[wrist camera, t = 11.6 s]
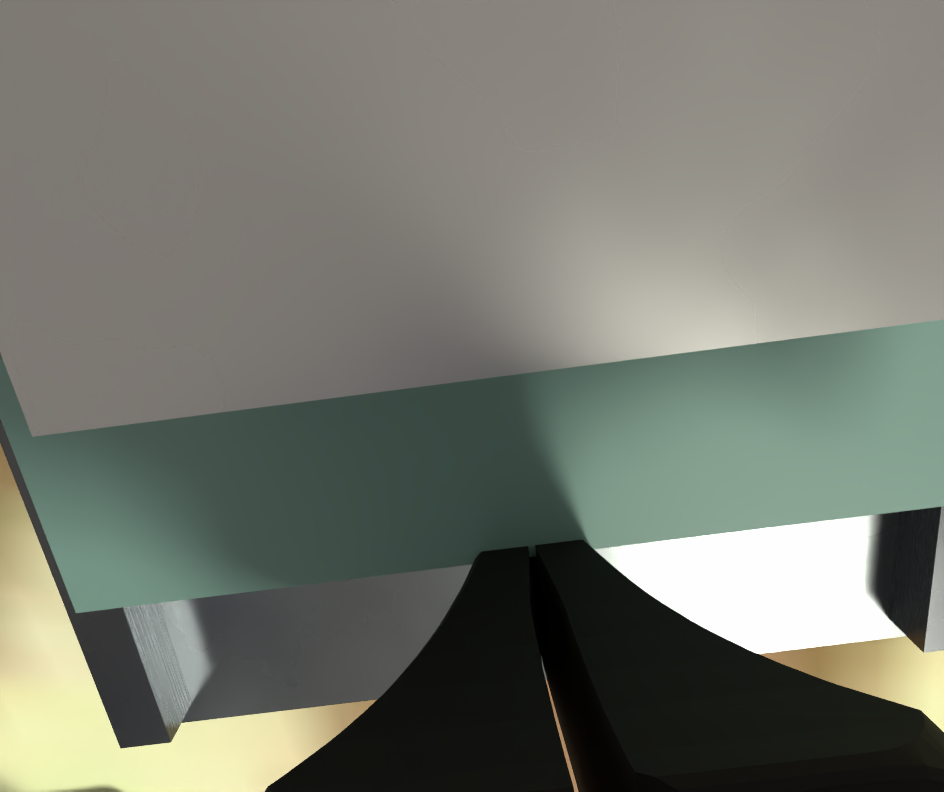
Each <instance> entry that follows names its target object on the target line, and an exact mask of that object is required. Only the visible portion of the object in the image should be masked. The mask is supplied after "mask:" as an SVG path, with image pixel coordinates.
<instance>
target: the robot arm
mask: <svg viewBox="0 0 944 792" xmlns="http://www.w3.org/2000/svg"><path fill="white" fill-rule="evenodd" d="M535 548H536V557H529V548H528V546H524V547H515V548H507V549H498V550H490V551H482V552H481V553H480V554H479V555H478V556H477V557H476V558H475V560H474V562H473V565H472V567H471V569H470V571H469V573H468V575H467V577H466V580H465V582H464V584H463V586H462V588H461V589H460V591H459V593H458V595H457V596H456V598H455V600H454V602H453V603H452V605H451V607H450V608H449V610H448V612H447V614H446V615H445V617H444V619H443V620H442V622H441V623H440V625H439V626H438V628H437V629H436V631H435V632H434V633H433V635H432V636H431V638H430V639H429V640H428V642H427V643H426V644H425V646H424V647H423V648H422V650H421V651H420V652H419V654H418V655H417V656H416V658H415V659H414V660H413V661H412V662H411V663H410V665H409V666H408V667H407V668H406V669H405V670H404V672H403V673H402V674H401V675H400V676H399V677H398V679H397V680H396V681H395V682H394V683H393V684H392V685H391V686H390V687H389V689H388V690H387V691H386V692H385V693H384V694H383V695H382V696H381V697H380V698H379V699H378V700H377V701H375V702H374V703H373V704H372V705H371V706H370V707H369V708H368V709H367V710H366V711H365V712H364V713H363V714H362V715H360V716H359V717H358V718H357V719H356V720H355V721H353V722H352V723H351V724H350V725H349V726H348V727H347V728H345V729H344V730H343V731H342V732H341V733H340V734H338V735H337V736H336V737H335V738H333V739H332V740H331V741H330V742H328V743H327V744H326V745H325V746H323V747H322V748H320V749H319V750H318V751H316V752H315V753H314V754H312V755H311V756H310V757H308V758H307V759H306V760H304V761H303V762H302V763H300V764H299V765H298V766H296V767H295V768H294V769H292V770H291V771H289V772H288V773H287V774H285V775H284V776H283V777H281V778H280V779H278V780H277V781H275V782H274V783H273V784H271V785H270V786H268V787H267V789H266V790H265V792H574V788H573V784H572V781H571V777H570V774H569V770H568V767H567V763H566V759H565V756H564V752H563V748H562V744H561V740H560V737H559V733H558V729H557V725H556V721H555V718H554V713H553V709H552V705H551V701H550V697H549V692H548V688H547V684H546V680H545V675H544V671H543V666H544V670H545V674H546V677H547V681H548V684H549V688H550V691H551V695H552V699H553V702H554V706H555V709H556V713H557V716H558V720H559V723H560V727H561V730H562V734H563V737H564V741H565V744H566V748H567V751H568V755H569V758H570V762H571V765H572V769H573V772H574V776H575V779H576V783H577V787H578V791H579V792H944V732H943V731H942V730H941V729H940V728H938V727H937V726H936V725H935V724H934V723H933V722H932V721H931V720H930V719H929V718H928V717H927V716H926V715H925V714H924V713H923V712H922V711H921V710H918V709H914V708H911V707H908V706H905V705H901V704H898V703H895V702H892V701H888V700H885V699H882V698H879V697H875V696H872V695H869V694H866V693H862V692H859V691H856V690H852V689H849V688H846V687H843V686H839V685H836V684H833V683H830V682H828V681H825V680H822V679H819V678H817V677H814V676H811V675H809V674H806V673H804V672H801V671H798V670H796V669H793V668H791V667H788V666H785V665H783V664H780V663H778V662H775V661H773V660H771V659H768V658H766V657H764V656H761V655H759V654H757V653H754V652H752V651H750V650H748V649H746V648H744V647H742V646H740V645H738V644H736V643H734V642H731V641H729V640H727V639H725V638H723V637H721V636H719V635H717V634H715V633H713V632H711V631H709V630H707V629H706V628H704V627H702V626H700V625H698V624H696V623H695V622H693V621H691V620H689V619H688V618H686V617H684V616H683V615H681V614H680V613H678V612H676V611H675V610H673V609H671V608H670V607H668V606H666V605H665V604H663V603H662V602H660V601H659V600H657V599H656V598H654V597H653V596H651V595H650V594H648V593H647V592H645V591H644V590H643V589H641V588H640V587H639V586H637V585H636V584H635V583H633V582H632V581H631V580H629V579H628V578H627V577H626V576H625V575H623V574H622V573H621V572H620V571H618V570H617V569H616V568H615V567H614V566H613V565H611V564H610V563H609V562H608V561H607V560H606V559H605V558H603V557H602V556H601V555H600V554H599V553H598V552H597V551H596V550H595V549H593V548H592V547H591V546H590V545H589V544H588V543H586V542H585V541H584V540H573V541H565V542H557V543H549V544H540V545H535ZM542 662H543V666H542Z"/></svg>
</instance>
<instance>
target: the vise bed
mask: <svg viewBox="0 0 944 792" xmlns="http://www.w3.org/2000/svg"><path fill="white" fill-rule="evenodd" d="M0 443H1V446H2V448H3V451H4V453H5V456H6V458H7V461H8V463H9V466H10V468H11V471H12V473H13V476H14V479H15V481H16V484H17V486H18V489H19V491H20V494H21V496H22V499H23V501H24V504H25V507H26V509H27V512H28V514H29V517H30V519H31V522H32V524H33V527H34V529H35V532H36V534H37V537H38V540H39V542H40V545H41V547H42V550H43V552H44V555H45V557H46V560H47V562H48V565H49V568H50V570H51V573H52V575H53V578H54V580H55V583H56V585H57V588H58V590H59V593H60V595H61V598H62V601H63V603H64V606H65V608H66V611H67V613H68V616H69V618H70V621H71V623H72V626H73V629H74V631H75V634H76V636H77V639H78V641H79V644H80V646H81V649H82V651H83V654H84V656H85V659H86V662H87V664H88V667H89V669H90V672H91V674H92V677H93V679H94V682H95V684H96V687H97V690H98V692H99V695H100V697H101V700H102V702H103V705H104V707H105V710H106V712H107V715H108V717H109V720H110V723H111V725H112V728H113V730H114V733H115V735H116V738H117V740H118V743H119V745H120V748H127V747H135V746H144V745H152V744H161V743H169V742H171V741H172V739H173V737H174V736H175V734H176V732H177V730H178V728H179V726H180V724H181V723H184V722H192V721H200V720H209V719H217V718H225V717H234V716H242V715H251V714H259V713H267V712H276V711H284V710H292V709H301V708H309V707H317V706H326V705H334V704H343V703H351V702H359V701H368V700H376V699H379V698H380V697H381V696H382V695H383V694H384V693H385V692H386V691H387V690H388V689H389V687H390V686H391V685H392V684H393V683H394V682H395V681H396V680H397V679H398V677H399V676H400V675H401V674H402V673H403V672H404V670H405V669H406V668H407V667H408V666H409V665H410V663H411V662H412V661H413V660H414V659H415V658H416V656H417V655H418V654H419V652H420V651H421V650H422V648H423V647H424V646H425V644H426V643H427V642H428V640H429V639H430V638H431V636H432V635H433V633H434V632H435V631H436V629H437V628H438V626H439V625H440V623H441V622H442V620H443V619H444V617H445V615H446V614H447V612H448V610H449V608H450V607H451V605H452V603H453V602H454V600H455V598H456V596H457V595H458V593H459V591H460V589H461V588H462V586H463V584H464V582H465V580H466V577H467V575H468V573H469V571H470V569H471V567H472V565H473V564H471V565H463V566H455V567H447V568H439V569H431V570H423V571H414V572H406V573H398V574H390V575H382V576H374V577H366V578H358V579H350V580H341V581H333V582H325V583H317V584H309V585H301V586H293V587H285V588H276V589H268V590H260V591H252V592H244V593H236V594H228V595H220V596H212V597H203V598H195V599H187V600H179V601H171V602H163V603H155V604H147V605H139V606H130V607H122V608H114V609H106V610H98V611H90V612H82V613H76V612H75V609H74V607H73V604H72V602H71V599H70V597H69V594H68V591H67V589H66V586H65V584H64V581H63V579H62V576H61V573H60V571H59V568H58V566H57V563H56V561H55V558H54V555H53V553H52V550H51V548H50V545H49V543H48V540H47V537H46V535H45V532H44V530H43V527H42V525H41V522H40V519H39V517H38V514H37V512H36V509H35V506H34V504H33V501H32V499H31V496H30V494H29V491H28V488H27V486H26V483H25V481H24V478H23V476H22V473H21V470H20V468H19V465H18V463H17V460H16V458H15V455H14V452H13V450H12V447H11V445H10V442H9V440H8V437H7V434H6V432H5V429H4V427H3V424H2V422H1V419H0ZM595 550H596V551H597V552H598V553H599V554H600V555H601V556H602V557H603V558H605V559H606V560H607V561H608V562H609V563H610V564H611V565H613V566H614V567H615V568H616V569H617V570H618V571H620V572H621V573H622V574H623V575H625V576H626V577H627V578H628V579H629V580H631V581H632V582H633V583H635V584H636V585H637V586H639V587H640V588H641V589H643V590H644V591H645V592H647V593H648V594H650V595H651V596H653V597H654V598H656V599H657V600H659V601H660V602H662V603H663V604H665V605H666V606H668V607H670V608H671V609H673V610H675V611H676V612H678V613H680V614H681V615H683V616H684V617H686V618H688V619H689V620H691V621H693V622H695V623H696V624H698V625H700V626H702V627H704V628H706V629H707V630H709V631H711V632H713V633H715V634H717V635H719V636H721V637H723V638H725V639H727V640H729V641H731V642H734V643H736V644H738V645H740V646H742V647H744V648H746V649H748V650H750V651H752V652H754V653H757V654H761V653H769V652H777V651H786V650H794V649H803V648H811V647H819V646H828V645H836V644H844V643H853V642H861V641H869V640H878V639H886V638H895V637H903V636H907V637H908V638H909V639H910V640H911V641H912V642H913V643H914V644H915V645H916V646H917V647H918V648H919V649H920V650H922V651H923V652H924V653H925V652H934V651H942V650H944V506H942V507H934V508H926V509H918V510H909V511H901V512H893V513H885V514H877V515H869V516H861V517H853V518H844V519H836V520H828V521H820V522H812V523H804V524H796V525H788V526H780V527H771V528H763V529H755V530H747V531H739V532H731V533H723V534H715V535H707V536H698V537H690V538H682V539H674V540H666V541H658V542H650V543H642V544H634V545H625V546H617V547H609V548H601V549H595ZM542 666H543V662H542ZM543 671H544V675H545V679H547V677H546V674H545V670H544V666H543Z"/></svg>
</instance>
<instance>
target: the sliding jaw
mask: <svg viewBox="0 0 944 792" xmlns="http://www.w3.org/2000/svg"><path fill="white" fill-rule="evenodd" d="M0 419H1V422H2V424H3V427H4V429H5V432H6V434H7V437H8V440H9V442H10V445H11V447H12V450H13V452H14V455H15V458H16V460H17V463H18V465H19V468H20V470H21V473H22V476H23V478H24V481H25V483H26V486H27V488H28V491H29V494H30V496H31V499H32V501H33V504H34V506H35V509H36V512H37V514H38V517H39V519H40V522H41V525H42V527H43V530H44V532H45V535H46V537H47V540H48V543H49V545H50V548H51V550H52V553H53V555H54V558H55V561H56V563H57V566H58V568H59V571H60V573H61V576H62V579H63V581H64V584H65V586H66V589H67V591H68V594H69V597H70V599H71V602H72V604H73V607H74V609H75V612H76V613H82V612H90V611H98V610H106V609H114V608H122V607H130V606H139V605H147V604H155V603H163V602H171V601H179V600H187V599H195V598H203V597H212V596H220V595H228V594H236V593H244V592H252V591H260V590H268V589H276V588H285V587H293V586H301V585H309V584H317V583H325V582H333V581H341V580H350V579H358V578H366V577H374V576H382V575H390V574H398V573H406V572H414V571H423V570H431V569H439V568H447V567H455V566H463V565H471V564H473V562H474V560H475V558H476V557H477V556H478V555H479V554H480V553H481V552H482V551H490V550H498V549H507V548H515V547H524V546H528V548H529V557H536V548H535V545H540V544H549V543H557V542H565V541H573V540H584V541H585V542H586V543H588V544H589V545H590V546H591V547H592V548H593V549H601V548H609V547H617V546H625V545H634V544H642V543H650V542H658V541H666V540H674V539H682V538H690V537H698V536H707V535H715V534H723V533H731V532H739V531H747V530H755V529H763V528H771V527H780V526H788V525H796V524H804V523H812V522H820V521H828V520H836V519H844V518H853V517H861V516H869V515H877V514H885V513H893V512H901V511H909V510H918V509H926V508H934V507H942V506H944V319H943V320H935V321H928V322H920V323H912V324H904V325H897V326H889V327H881V328H873V329H866V330H858V331H850V332H842V333H834V334H827V335H819V336H811V337H803V338H796V339H788V340H780V341H772V342H765V343H757V344H749V345H741V346H733V347H726V348H718V349H710V350H702V351H695V352H687V353H679V354H671V355H664V356H656V357H648V358H640V359H632V360H625V361H617V362H609V363H601V364H594V365H586V366H578V367H570V368H563V369H555V370H547V371H539V372H531V373H524V374H516V375H508V376H500V377H493V378H485V379H477V380H469V381H462V382H454V383H446V384H438V385H430V386H423V387H415V388H407V389H399V390H392V391H384V392H376V393H368V394H361V395H353V396H345V397H337V398H329V399H322V400H314V401H306V402H298V403H291V404H283V405H275V406H267V407H260V408H252V409H244V410H236V411H228V412H221V413H213V414H205V415H197V416H190V417H182V418H174V419H166V420H159V421H151V422H143V423H135V424H127V425H120V426H112V427H104V428H96V429H89V430H81V431H73V432H65V433H58V434H50V435H42V436H34V437H32V435H31V432H30V429H29V427H28V424H27V422H26V419H25V416H24V414H23V411H22V408H21V406H20V403H19V401H18V398H17V395H16V393H15V390H14V388H13V385H12V382H11V380H10V377H9V375H8V372H7V369H6V367H5V364H4V362H3V359H2V356H1V354H0Z"/></svg>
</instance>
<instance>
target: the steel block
mask: <svg viewBox="0 0 944 792" xmlns="http://www.w3.org/2000/svg"><path fill="white" fill-rule="evenodd" d="M943 319H944V0H0V354H1V356H2V359H3V362H4V364H5V367H6V369H7V372H8V375H9V377H10V380H11V382H12V385H13V388H14V390H15V393H16V395H17V398H18V401H19V403H20V406H21V408H22V411H23V414H24V416H25V419H26V422H27V424H28V427H29V429H30V432H31V435H32V437H34V436H42V435H50V434H58V433H65V432H73V431H81V430H89V429H96V428H104V427H112V426H120V425H127V424H135V423H143V422H151V421H159V420H166V419H174V418H182V417H190V416H197V415H205V414H213V413H221V412H228V411H236V410H244V409H252V408H260V407H267V406H275V405H283V404H291V403H298V402H306V401H314V400H322V399H329V398H337V397H345V396H353V395H361V394H368V393H376V392H384V391H392V390H399V389H407V388H415V387H423V386H430V385H438V384H446V383H454V382H462V381H469V380H477V379H485V378H493V377H500V376H508V375H516V374H524V373H531V372H539V371H547V370H555V369H563V368H570V367H578V366H586V365H594V364H601V363H609V362H617V361H625V360H632V359H640V358H648V357H656V356H664V355H671V354H679V353H687V352H695V351H702V350H710V349H718V348H726V347H733V346H741V345H749V344H757V343H765V342H772V341H780V340H788V339H796V338H803V337H811V336H819V335H827V334H834V333H842V332H850V331H858V330H866V329H873V328H881V327H889V326H897V325H904V324H912V323H920V322H928V321H935V320H943Z"/></svg>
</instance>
